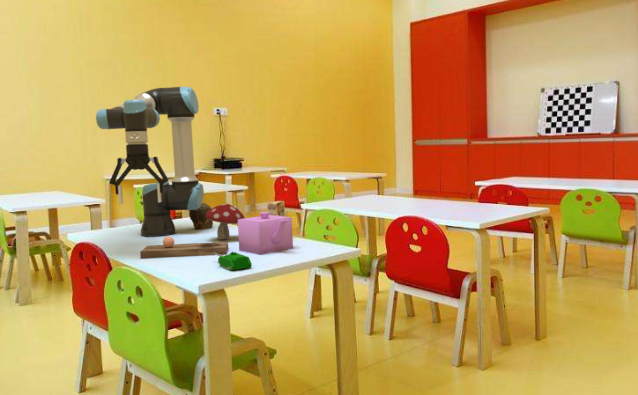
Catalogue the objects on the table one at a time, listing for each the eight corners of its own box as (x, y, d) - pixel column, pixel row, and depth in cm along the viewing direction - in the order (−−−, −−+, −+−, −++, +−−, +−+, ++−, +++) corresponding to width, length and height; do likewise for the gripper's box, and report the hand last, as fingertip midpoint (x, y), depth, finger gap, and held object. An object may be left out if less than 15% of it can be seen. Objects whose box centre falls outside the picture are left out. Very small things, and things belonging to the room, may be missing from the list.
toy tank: (227, 259, 198) (226, 245, 197) (252, 268, 182) (251, 253, 181) (208, 262, 194) (207, 248, 194) (232, 272, 178) (231, 256, 178)
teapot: (272, 257, 198) (270, 217, 197) (231, 249, 217) (229, 212, 216) (305, 250, 209) (304, 212, 207) (264, 243, 227) (262, 208, 226)
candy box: (278, 241, 230) (276, 203, 229) (268, 241, 231) (267, 203, 230) (286, 237, 238) (284, 200, 237) (276, 237, 240) (275, 200, 238)
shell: (191, 227, 278) (190, 202, 277) (214, 226, 279) (213, 201, 278) (188, 230, 268) (187, 204, 266) (212, 229, 268) (211, 203, 267)
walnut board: (147, 252, 216) (147, 245, 215) (228, 248, 218) (228, 241, 218) (140, 258, 204) (140, 251, 204) (226, 254, 206) (225, 247, 206)
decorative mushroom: (243, 235, 248) (241, 200, 246) (248, 241, 232) (246, 204, 231) (205, 238, 244) (203, 203, 242) (208, 244, 228) (206, 206, 227)
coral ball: (164, 246, 212) (163, 235, 212) (175, 246, 212) (174, 235, 212) (162, 248, 208) (161, 237, 208) (173, 248, 208) (172, 237, 208)
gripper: (98, 144, 201) (102, 205, 203) (171, 142, 204) (174, 202, 205) (103, 144, 208) (107, 203, 210) (174, 142, 211) (177, 200, 213)
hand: (140, 202), depth 208 cm, fingers open, 13 cm apart
